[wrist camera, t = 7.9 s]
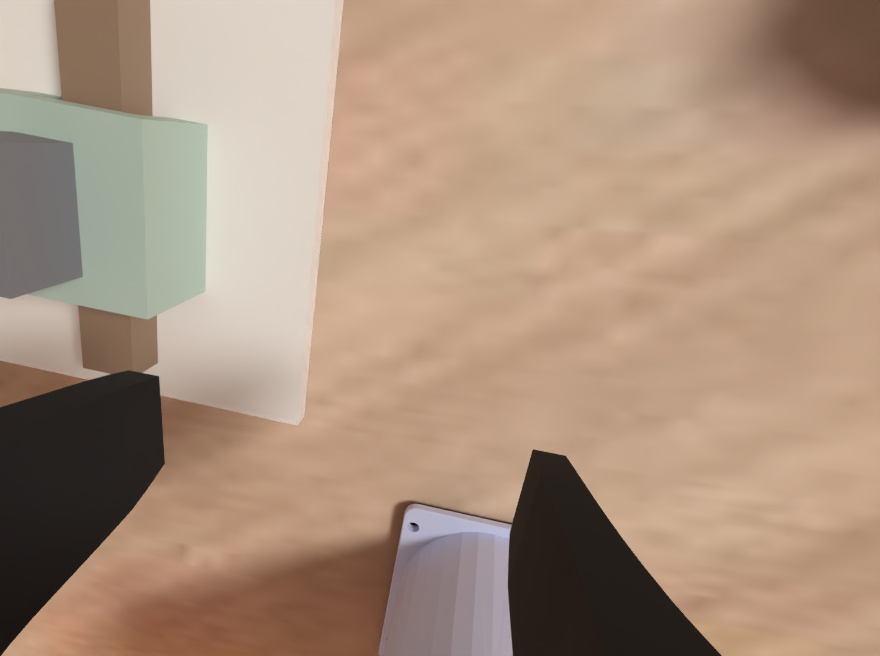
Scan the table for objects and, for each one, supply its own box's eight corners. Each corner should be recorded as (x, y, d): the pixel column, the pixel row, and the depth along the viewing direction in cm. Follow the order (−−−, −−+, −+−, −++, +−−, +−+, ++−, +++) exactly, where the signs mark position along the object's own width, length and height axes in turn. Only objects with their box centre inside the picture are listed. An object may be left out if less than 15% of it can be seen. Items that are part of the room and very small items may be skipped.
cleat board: (304, 415, 22) (282, 445, 20) (-4, 349, 22) (-58, 370, 20) (345, -19, 16) (321, -45, 14) (-67, -92, 17) (-151, -127, 15)
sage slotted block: (205, 291, 19) (87, 348, 14) (57, 260, 20) (-118, 304, 14) (207, 124, 17) (70, 113, 12) (41, 92, 18) (-170, 67, 12)
